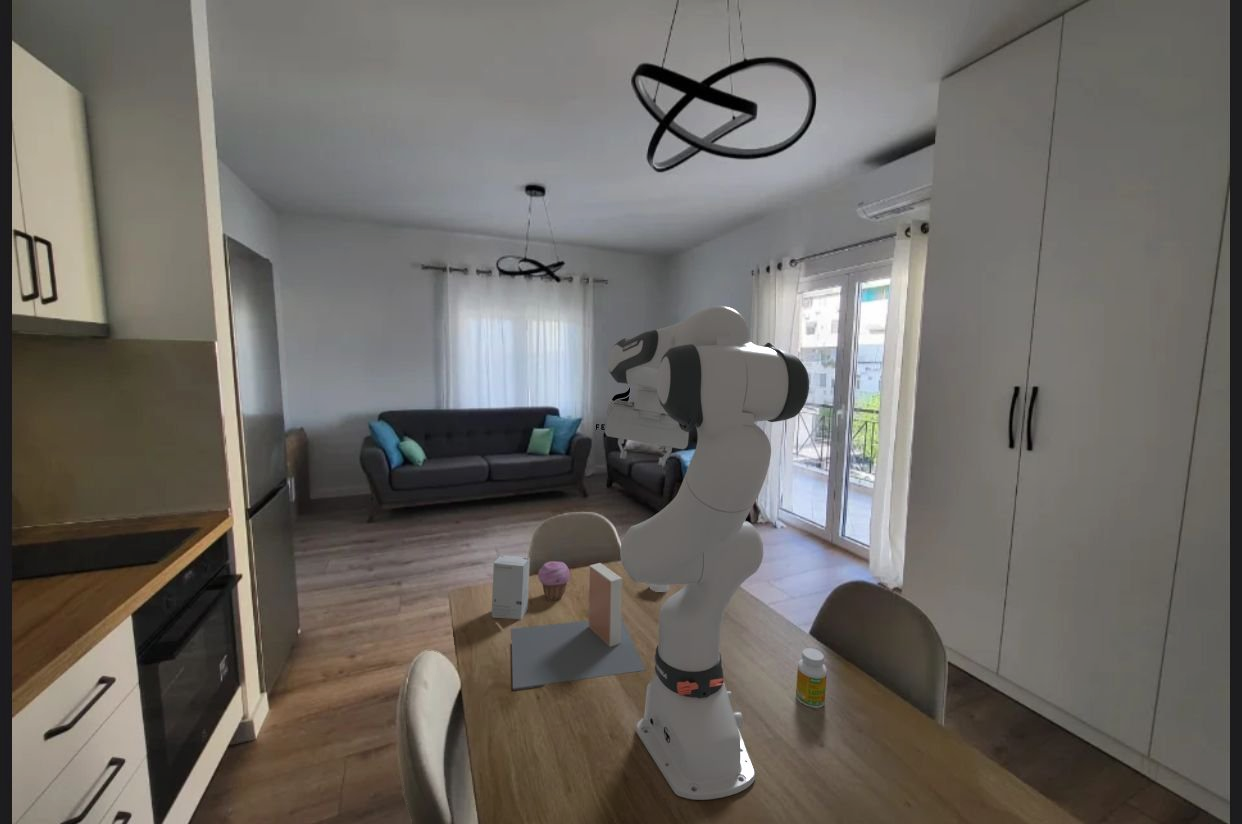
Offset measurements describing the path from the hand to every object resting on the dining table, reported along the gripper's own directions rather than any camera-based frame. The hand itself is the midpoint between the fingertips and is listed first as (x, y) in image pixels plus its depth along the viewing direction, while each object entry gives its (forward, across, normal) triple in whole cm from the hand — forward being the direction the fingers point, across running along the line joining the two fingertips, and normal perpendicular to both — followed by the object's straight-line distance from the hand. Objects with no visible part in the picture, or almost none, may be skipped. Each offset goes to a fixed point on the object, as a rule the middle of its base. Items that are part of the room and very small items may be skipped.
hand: (642, 461), depth 116 cm
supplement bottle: (+41, +41, -17) cm, 60 cm away
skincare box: (+46, -27, +12) cm, 54 cm away
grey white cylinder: (+37, +12, +28) cm, 48 cm away
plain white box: (+43, -2, +3) cm, 43 cm away
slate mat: (+45, -8, -3) cm, 46 cm away
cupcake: (+43, -17, +22) cm, 51 cm away
